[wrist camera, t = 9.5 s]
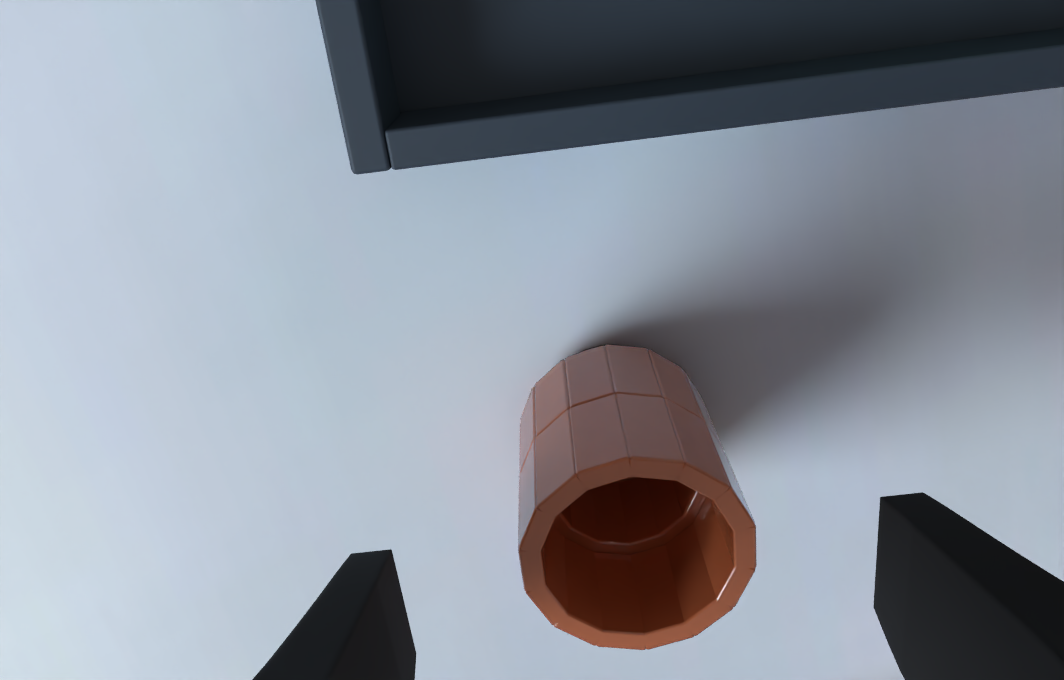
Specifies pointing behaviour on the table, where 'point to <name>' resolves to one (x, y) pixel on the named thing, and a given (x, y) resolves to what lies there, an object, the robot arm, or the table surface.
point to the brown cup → (628, 503)
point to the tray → (657, 67)
